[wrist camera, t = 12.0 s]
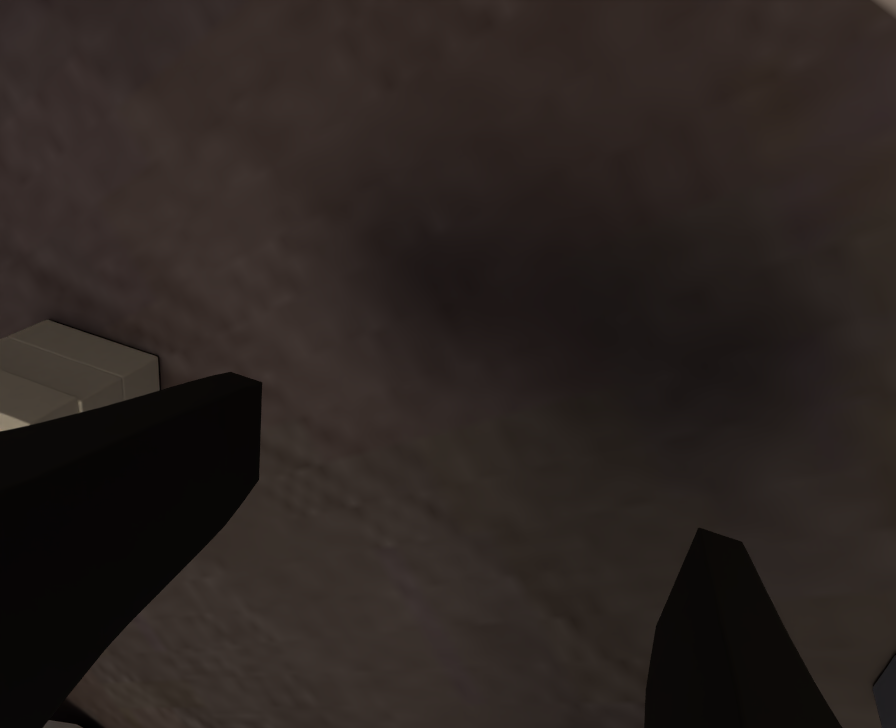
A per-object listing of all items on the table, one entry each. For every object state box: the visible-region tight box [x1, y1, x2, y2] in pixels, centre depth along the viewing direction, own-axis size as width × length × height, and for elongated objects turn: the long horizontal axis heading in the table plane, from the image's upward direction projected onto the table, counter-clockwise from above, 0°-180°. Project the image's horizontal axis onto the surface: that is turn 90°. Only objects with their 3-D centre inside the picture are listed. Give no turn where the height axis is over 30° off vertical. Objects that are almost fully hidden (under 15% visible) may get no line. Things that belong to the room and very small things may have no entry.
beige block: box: [0, 320, 160, 413], centre depth 26 cm, size 8×5×4 cm, turn 170°
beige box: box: [0, 369, 79, 431], centre depth 23 cm, size 8×5×2 cm, turn 170°
